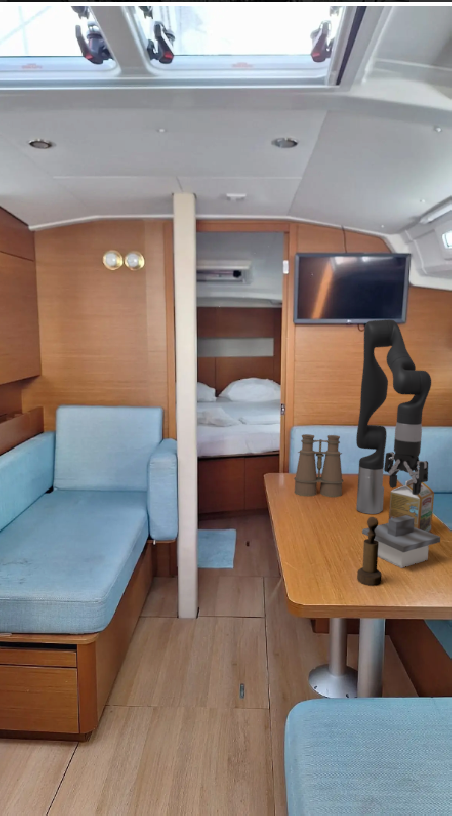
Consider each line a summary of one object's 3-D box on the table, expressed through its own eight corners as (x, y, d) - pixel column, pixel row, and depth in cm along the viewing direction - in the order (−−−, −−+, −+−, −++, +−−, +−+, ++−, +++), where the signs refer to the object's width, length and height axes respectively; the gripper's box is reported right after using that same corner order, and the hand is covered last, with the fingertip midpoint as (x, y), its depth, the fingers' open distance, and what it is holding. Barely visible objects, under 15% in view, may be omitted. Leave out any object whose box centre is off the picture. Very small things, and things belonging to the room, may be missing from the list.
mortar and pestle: (353, 575, 149) (357, 513, 147) (376, 574, 150) (380, 513, 147) (361, 586, 143) (365, 521, 140) (385, 585, 143) (389, 521, 141)
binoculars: (340, 490, 230) (343, 434, 227) (344, 497, 220) (347, 438, 217) (292, 489, 231) (294, 432, 227) (294, 496, 221) (297, 437, 218)
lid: (397, 525, 172) (399, 507, 171) (439, 542, 159) (441, 522, 158) (362, 533, 164) (363, 514, 163) (403, 552, 151) (404, 531, 150)
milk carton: (402, 524, 191) (406, 472, 188) (431, 532, 183) (435, 478, 181) (387, 531, 184) (391, 477, 181) (416, 540, 176) (421, 484, 173)
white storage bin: (397, 546, 170) (398, 528, 169) (427, 559, 160) (429, 540, 159) (371, 553, 164) (372, 534, 163) (401, 567, 154) (402, 548, 154)
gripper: (436, 441, 153) (432, 495, 155) (397, 432, 165) (394, 483, 167) (419, 443, 149) (415, 499, 151) (380, 434, 161) (377, 486, 163)
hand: (404, 490), depth 159 cm, fingers open, 8 cm apart
